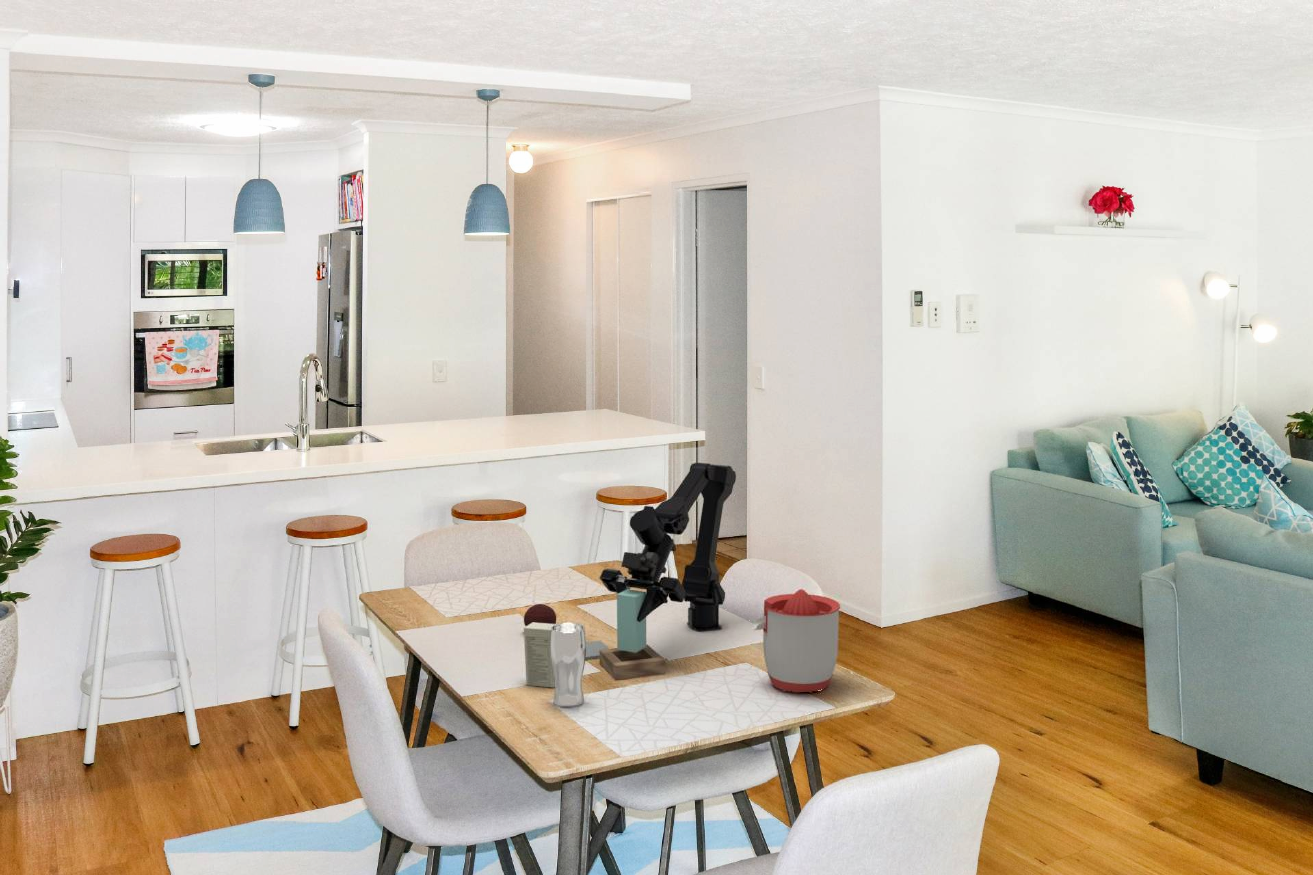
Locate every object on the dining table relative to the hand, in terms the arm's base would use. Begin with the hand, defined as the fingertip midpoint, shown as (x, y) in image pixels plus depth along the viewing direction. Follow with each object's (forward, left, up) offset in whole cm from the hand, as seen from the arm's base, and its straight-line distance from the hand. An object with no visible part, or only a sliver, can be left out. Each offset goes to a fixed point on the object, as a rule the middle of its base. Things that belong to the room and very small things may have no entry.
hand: (628, 619), depth 233 cm
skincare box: (+19, +1, -11) cm, 22 cm away
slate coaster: (+5, -15, -11) cm, 19 cm away
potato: (+11, -32, -11) cm, 36 cm away
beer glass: (+17, +13, -11) cm, 24 cm away
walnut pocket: (-1, -1, -11) cm, 11 cm away
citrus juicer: (-29, +20, -11) cm, 37 cm away
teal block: (-1, -1, -7) cm, 7 cm away
